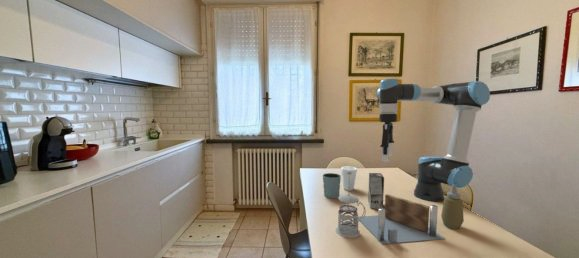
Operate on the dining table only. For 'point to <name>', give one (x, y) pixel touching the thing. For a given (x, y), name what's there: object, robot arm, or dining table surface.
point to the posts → (393, 231)
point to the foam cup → (348, 177)
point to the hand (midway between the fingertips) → (387, 158)
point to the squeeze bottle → (452, 209)
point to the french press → (348, 216)
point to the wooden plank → (407, 212)
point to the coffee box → (376, 190)
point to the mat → (403, 231)
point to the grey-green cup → (331, 185)
